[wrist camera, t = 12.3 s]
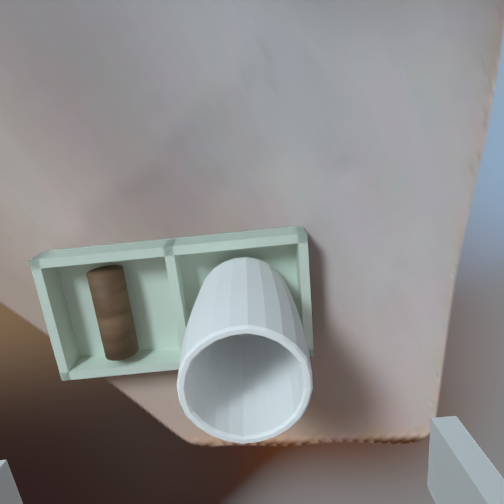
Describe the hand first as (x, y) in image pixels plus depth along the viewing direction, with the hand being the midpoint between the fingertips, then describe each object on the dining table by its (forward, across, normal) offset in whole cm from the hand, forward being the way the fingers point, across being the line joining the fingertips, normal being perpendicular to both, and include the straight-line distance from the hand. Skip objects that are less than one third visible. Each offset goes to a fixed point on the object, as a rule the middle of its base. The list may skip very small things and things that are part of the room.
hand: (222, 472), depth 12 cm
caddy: (+24, -6, -4) cm, 24 cm away
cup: (+23, 0, -4) cm, 24 cm away
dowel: (+23, -11, -4) cm, 26 cm away
